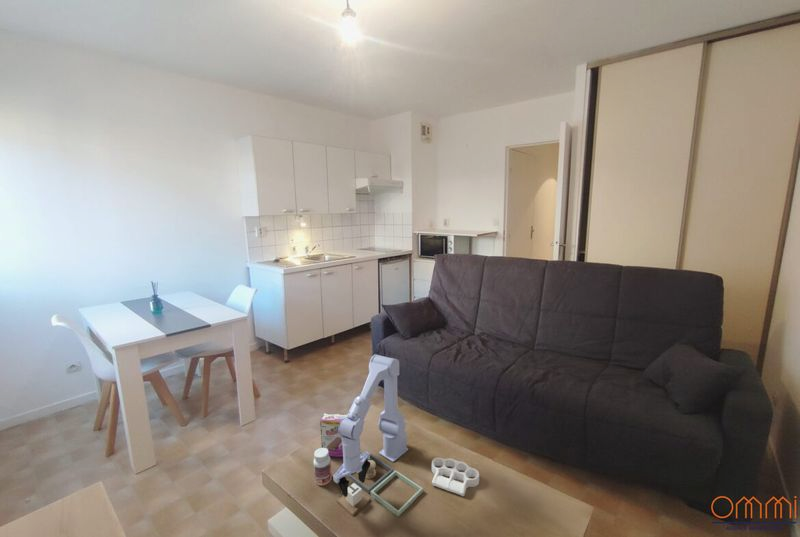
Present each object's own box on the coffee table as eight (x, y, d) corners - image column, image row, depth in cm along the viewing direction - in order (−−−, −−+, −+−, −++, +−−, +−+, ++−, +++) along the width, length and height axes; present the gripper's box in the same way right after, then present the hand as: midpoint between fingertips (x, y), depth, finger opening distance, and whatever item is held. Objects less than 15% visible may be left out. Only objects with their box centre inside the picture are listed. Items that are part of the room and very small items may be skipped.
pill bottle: (334, 481, 128) (332, 453, 126) (318, 488, 125) (316, 460, 123) (327, 470, 133) (326, 444, 131) (312, 477, 130) (310, 450, 128)
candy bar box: (321, 457, 140) (319, 420, 137) (325, 448, 145) (323, 412, 142) (349, 458, 139) (347, 421, 136) (351, 449, 144) (350, 413, 141)
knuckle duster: (423, 484, 126) (437, 458, 139) (472, 502, 119) (482, 472, 132) (423, 476, 126) (437, 451, 139) (473, 494, 118) (482, 465, 131)
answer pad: (354, 488, 125) (354, 486, 125) (370, 500, 120) (370, 498, 119) (337, 502, 119) (337, 500, 119) (352, 515, 114) (352, 513, 114)
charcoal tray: (369, 456, 140) (369, 453, 140) (393, 472, 132) (393, 468, 132) (344, 475, 131) (344, 471, 131) (368, 493, 122) (368, 489, 122)
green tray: (395, 473, 131) (395, 470, 131) (422, 491, 123) (422, 488, 122) (370, 495, 122) (370, 491, 121) (398, 516, 113) (398, 512, 113)
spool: (369, 467, 135) (369, 457, 134) (378, 473, 132) (378, 464, 131) (359, 474, 131) (359, 465, 130) (369, 481, 128) (368, 471, 127)
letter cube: (354, 492, 122) (354, 482, 121) (362, 499, 119) (361, 488, 118) (345, 500, 119) (345, 489, 118) (353, 506, 116) (352, 495, 115)
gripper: (342, 471, 108) (344, 508, 110) (375, 446, 118) (376, 481, 121) (328, 460, 112) (330, 496, 115) (361, 437, 123) (363, 471, 126)
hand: (353, 487), depth 118 cm, fingers open, 7 cm apart
